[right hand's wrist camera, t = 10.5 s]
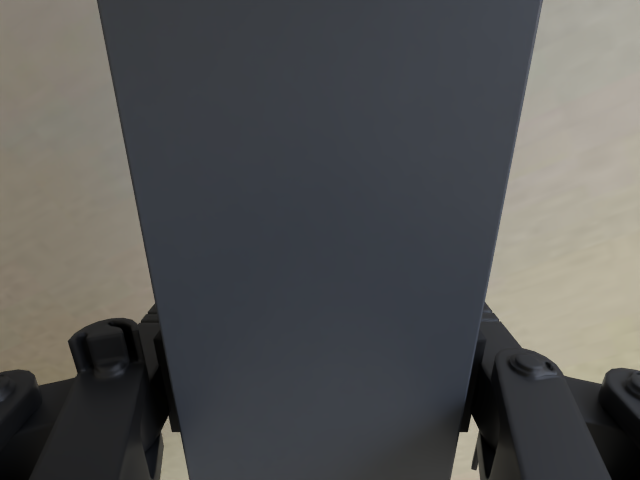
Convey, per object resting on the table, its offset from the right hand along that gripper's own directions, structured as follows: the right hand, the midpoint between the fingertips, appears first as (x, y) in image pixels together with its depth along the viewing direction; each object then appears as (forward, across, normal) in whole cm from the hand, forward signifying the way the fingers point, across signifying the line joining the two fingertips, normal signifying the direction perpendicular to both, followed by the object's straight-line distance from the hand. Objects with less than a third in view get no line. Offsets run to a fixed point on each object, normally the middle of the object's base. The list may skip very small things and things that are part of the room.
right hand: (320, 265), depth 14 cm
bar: (+1, 0, -9) cm, 9 cm away
